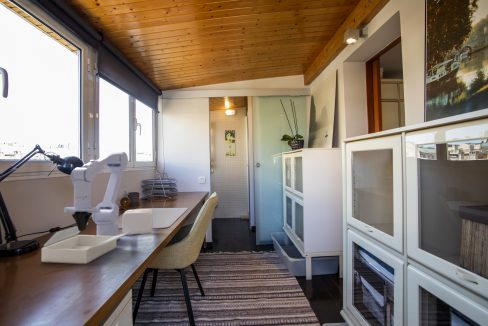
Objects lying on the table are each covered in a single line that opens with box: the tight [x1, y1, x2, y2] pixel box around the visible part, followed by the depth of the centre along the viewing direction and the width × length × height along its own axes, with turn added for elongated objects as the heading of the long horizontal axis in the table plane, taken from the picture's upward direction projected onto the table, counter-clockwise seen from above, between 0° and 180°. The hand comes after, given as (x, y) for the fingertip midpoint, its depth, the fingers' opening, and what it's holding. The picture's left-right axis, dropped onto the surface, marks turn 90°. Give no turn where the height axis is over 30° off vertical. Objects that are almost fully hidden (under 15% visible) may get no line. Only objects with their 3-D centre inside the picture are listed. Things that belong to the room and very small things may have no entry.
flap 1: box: [43, 222, 89, 247], centre depth 101 cm, size 16×7×1 cm
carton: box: [40, 234, 117, 265], centre depth 100 cm, size 18×18×5 cm
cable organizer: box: [121, 208, 154, 236], centre depth 133 cm, size 15×11×12 cm
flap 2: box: [89, 232, 131, 249], centre depth 99 cm, size 16×7×1 cm, turn 174°
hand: (82, 230), depth 100 cm, fingers closed
